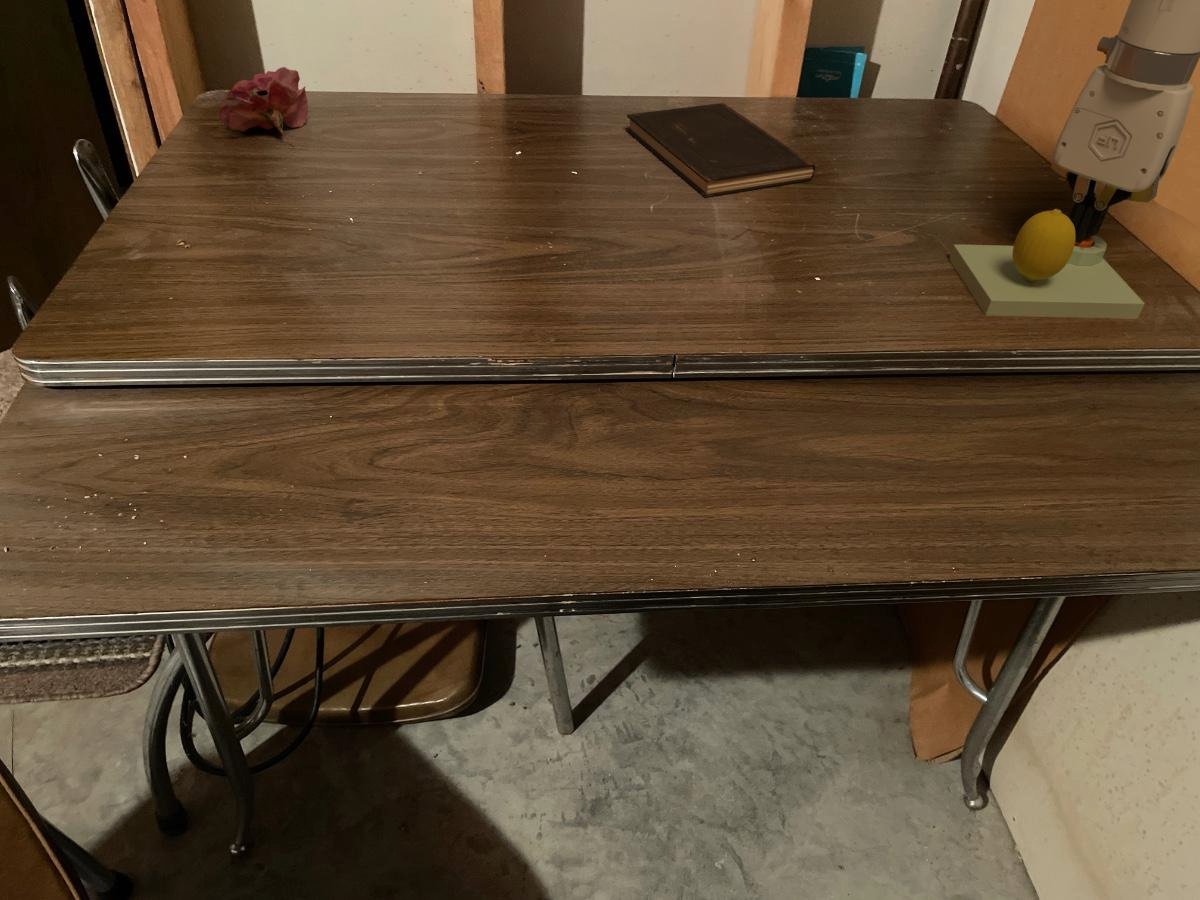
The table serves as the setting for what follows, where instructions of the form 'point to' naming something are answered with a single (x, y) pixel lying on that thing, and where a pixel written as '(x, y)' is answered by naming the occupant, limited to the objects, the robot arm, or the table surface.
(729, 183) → the hardcover book
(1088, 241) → the button
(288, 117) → the flower
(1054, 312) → the scale
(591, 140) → the table surface
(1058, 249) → the lemon
